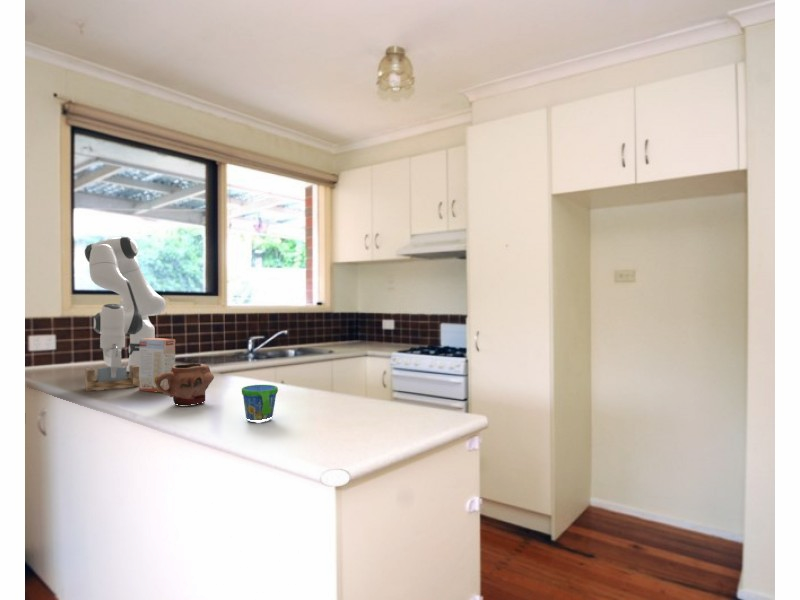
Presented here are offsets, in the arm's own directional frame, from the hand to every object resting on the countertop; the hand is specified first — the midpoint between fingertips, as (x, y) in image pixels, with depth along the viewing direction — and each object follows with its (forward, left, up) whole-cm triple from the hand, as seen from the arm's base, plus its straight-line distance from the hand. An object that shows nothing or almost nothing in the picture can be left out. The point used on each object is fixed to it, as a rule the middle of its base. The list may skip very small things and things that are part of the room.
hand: (112, 376), depth 199 cm
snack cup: (-27, +88, -4) cm, 92 cm away
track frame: (0, 0, -4) cm, 4 cm away
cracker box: (-13, +18, -4) cm, 23 cm away
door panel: (0, 0, -2) cm, 2 cm away
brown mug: (-15, +52, -4) cm, 54 cm away
